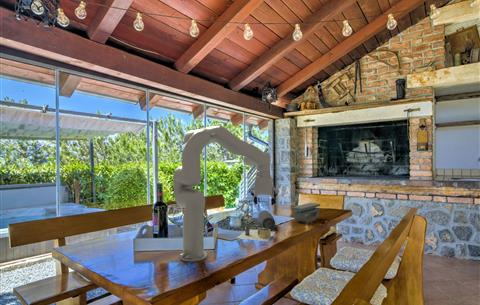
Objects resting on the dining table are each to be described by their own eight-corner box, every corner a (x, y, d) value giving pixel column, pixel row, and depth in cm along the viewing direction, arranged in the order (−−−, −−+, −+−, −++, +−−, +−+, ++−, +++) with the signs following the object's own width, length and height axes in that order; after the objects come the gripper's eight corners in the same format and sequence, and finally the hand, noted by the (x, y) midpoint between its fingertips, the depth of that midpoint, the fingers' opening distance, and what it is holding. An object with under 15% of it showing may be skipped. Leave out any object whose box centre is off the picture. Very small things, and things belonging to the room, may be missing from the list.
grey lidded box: (310, 217, 218) (310, 202, 218) (320, 218, 212) (320, 203, 212) (291, 222, 200) (291, 207, 200) (301, 224, 194) (301, 208, 195)
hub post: (248, 235, 164) (248, 226, 164) (244, 235, 165) (244, 226, 165) (250, 234, 166) (250, 225, 166) (245, 234, 167) (245, 225, 167)
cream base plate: (267, 243, 153) (267, 232, 153) (235, 240, 159) (235, 229, 160) (275, 234, 172) (275, 224, 172) (247, 231, 178) (247, 221, 178)
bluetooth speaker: (257, 224, 198) (257, 209, 198) (270, 223, 198) (270, 209, 198) (261, 233, 175) (260, 216, 175) (276, 232, 175) (276, 216, 175)
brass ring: (268, 238, 158) (268, 231, 158) (256, 237, 160) (256, 230, 160) (271, 235, 164) (271, 228, 164) (259, 234, 167) (259, 227, 167)
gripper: (247, 174, 162) (247, 205, 162) (277, 175, 156) (277, 206, 156) (251, 173, 169) (251, 202, 169) (280, 174, 163) (280, 204, 163)
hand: (264, 204), depth 163 cm, fingers open, 9 cm apart
